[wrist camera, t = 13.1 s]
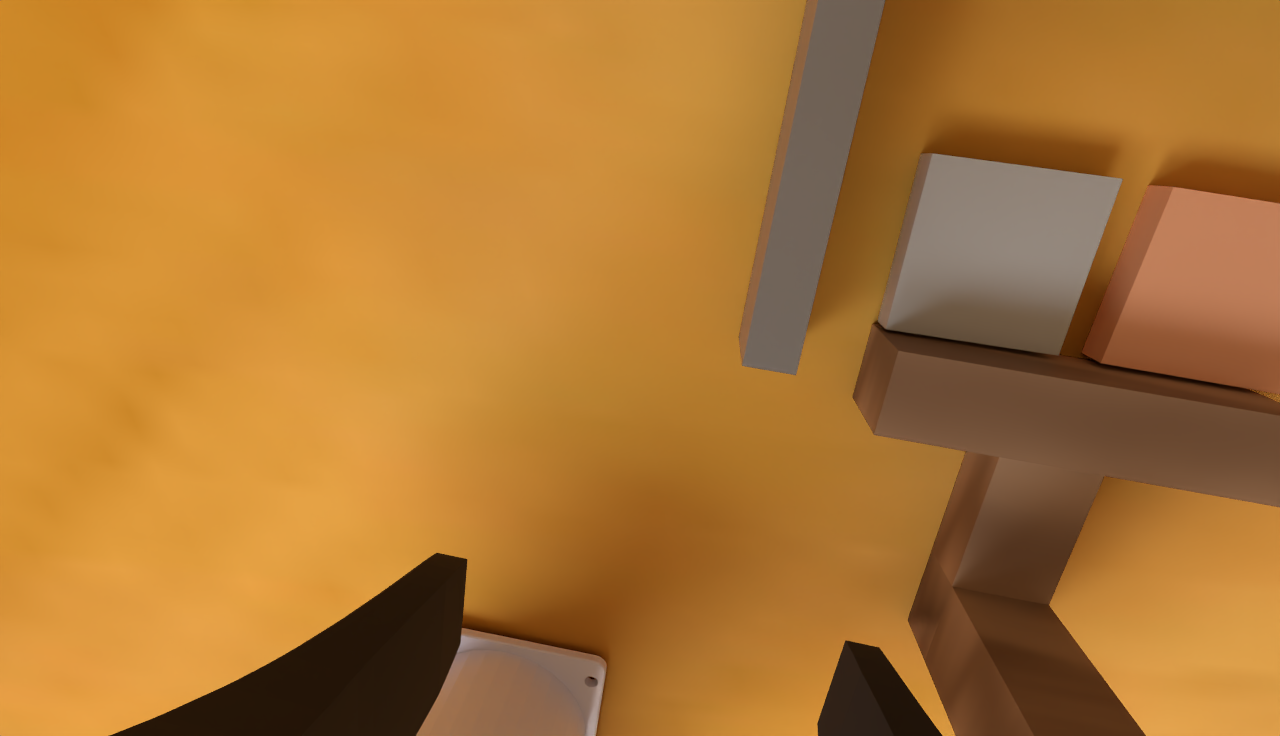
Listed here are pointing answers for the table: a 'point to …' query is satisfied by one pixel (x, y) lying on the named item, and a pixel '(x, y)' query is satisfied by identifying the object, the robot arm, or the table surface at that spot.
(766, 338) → the grey flat u-shaped piece
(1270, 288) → the tile terracotta
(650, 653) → the table surface
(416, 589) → the robot arm
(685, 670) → the table surface
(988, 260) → the tile slate
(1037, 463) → the scraper
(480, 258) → the table surface
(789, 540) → the table surface
